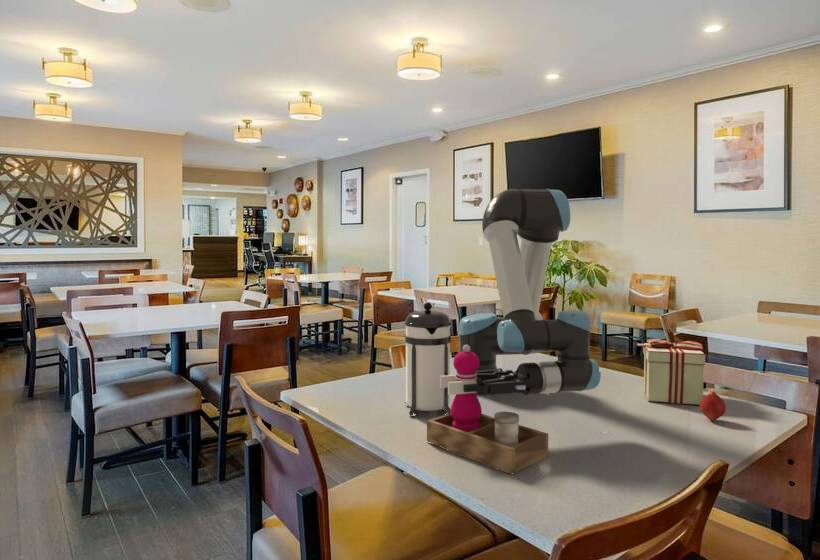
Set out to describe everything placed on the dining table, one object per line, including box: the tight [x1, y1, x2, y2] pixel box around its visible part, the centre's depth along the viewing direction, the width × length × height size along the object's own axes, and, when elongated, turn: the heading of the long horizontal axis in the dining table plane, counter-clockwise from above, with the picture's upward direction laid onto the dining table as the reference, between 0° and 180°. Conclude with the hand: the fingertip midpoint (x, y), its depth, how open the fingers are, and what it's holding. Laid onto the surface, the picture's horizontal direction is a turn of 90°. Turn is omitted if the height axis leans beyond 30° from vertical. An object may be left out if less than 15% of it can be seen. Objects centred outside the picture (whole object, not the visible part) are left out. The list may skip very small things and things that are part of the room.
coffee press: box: [403, 301, 452, 415], centre depth 150 cm, size 17×16×30 cm
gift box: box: [636, 338, 706, 406], centre depth 163 cm, size 17×18×17 cm
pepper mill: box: [450, 345, 483, 432], centre depth 125 cm, size 7×7×20 cm
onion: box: [699, 390, 727, 422], centre depth 141 cm, size 6×6×8 cm
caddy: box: [426, 411, 549, 475], centre depth 122 cm, size 24×13×9 cm, turn 43°
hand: (444, 385), depth 124 cm, fingers closed on pepper mill, 5 cm apart
